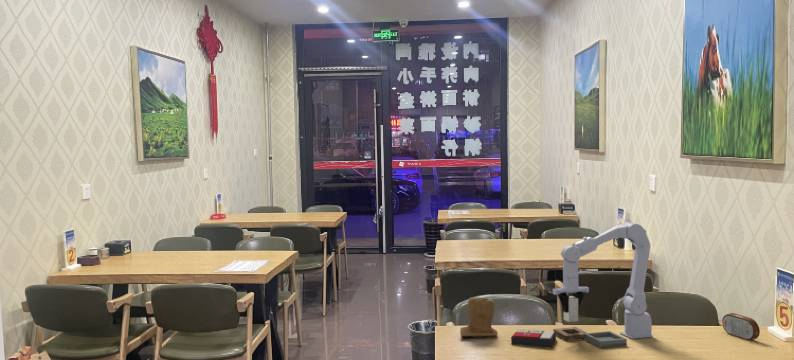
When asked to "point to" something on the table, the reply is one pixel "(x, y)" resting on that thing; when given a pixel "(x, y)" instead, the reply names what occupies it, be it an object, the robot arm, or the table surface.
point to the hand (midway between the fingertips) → (570, 311)
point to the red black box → (534, 338)
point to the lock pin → (572, 310)
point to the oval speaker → (741, 326)
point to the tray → (605, 339)
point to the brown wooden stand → (479, 318)
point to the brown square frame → (570, 333)
